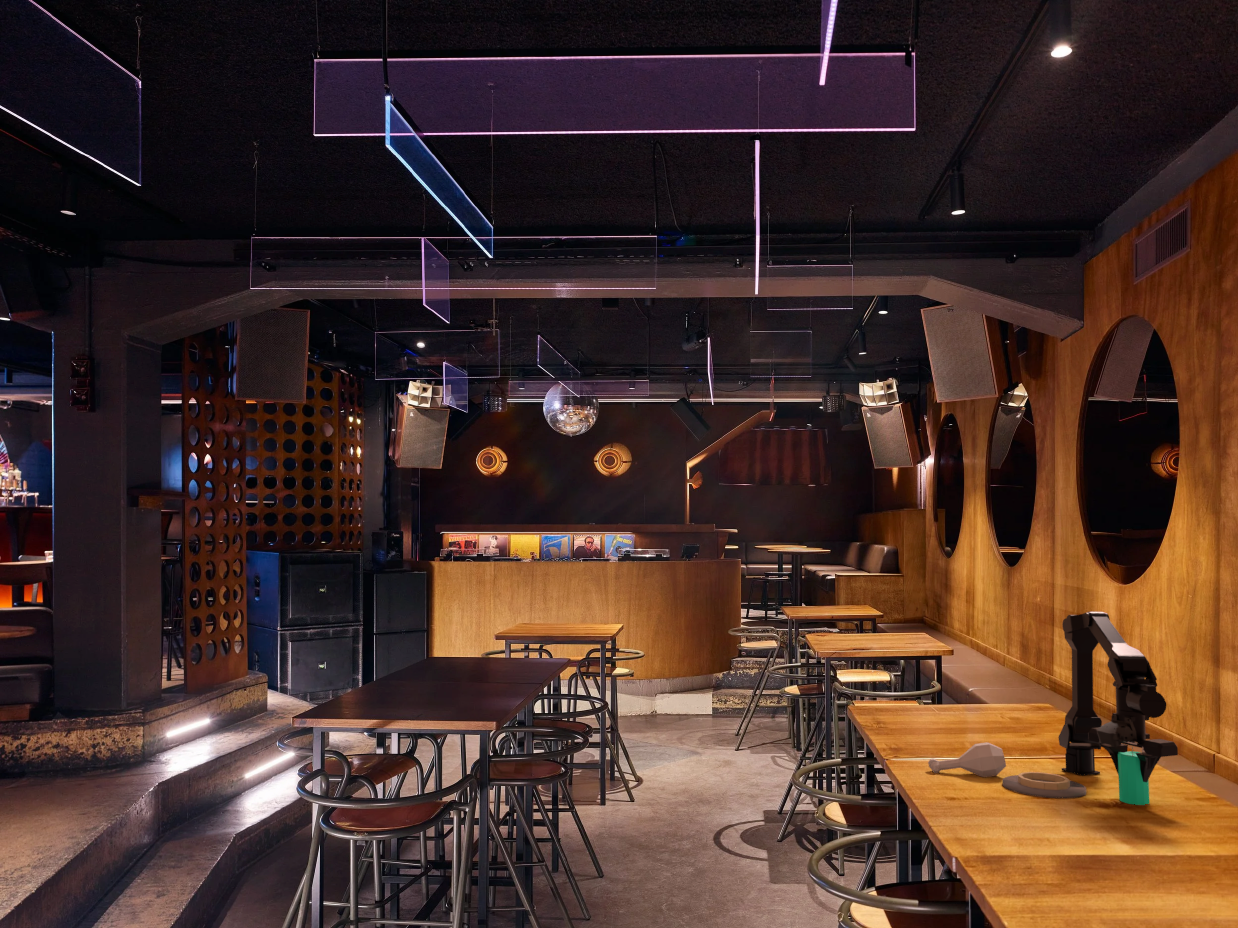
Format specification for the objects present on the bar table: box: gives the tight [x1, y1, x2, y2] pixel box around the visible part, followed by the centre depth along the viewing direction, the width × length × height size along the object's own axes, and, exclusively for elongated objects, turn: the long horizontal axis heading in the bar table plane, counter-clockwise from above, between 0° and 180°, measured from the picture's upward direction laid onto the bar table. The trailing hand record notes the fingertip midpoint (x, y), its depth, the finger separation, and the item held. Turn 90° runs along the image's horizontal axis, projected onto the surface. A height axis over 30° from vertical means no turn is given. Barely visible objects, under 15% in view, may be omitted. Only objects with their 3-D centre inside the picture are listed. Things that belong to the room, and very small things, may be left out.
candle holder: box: [1001, 771, 1087, 799], centre depth 222 cm, size 18×18×2 cm
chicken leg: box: [927, 741, 1007, 778], centre depth 236 cm, size 8×18×8 cm, turn 75°
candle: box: [1117, 746, 1150, 806], centre depth 212 cm, size 6×6×12 cm
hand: (1132, 780), depth 212 cm, fingers closed on candle, 5 cm apart
